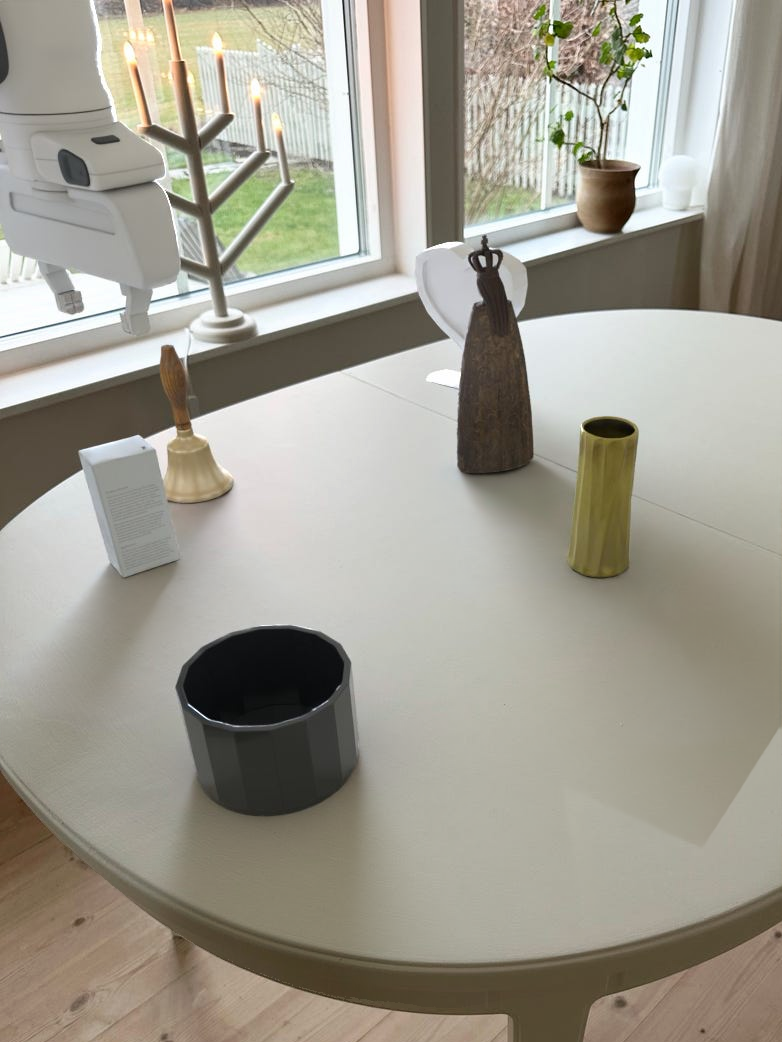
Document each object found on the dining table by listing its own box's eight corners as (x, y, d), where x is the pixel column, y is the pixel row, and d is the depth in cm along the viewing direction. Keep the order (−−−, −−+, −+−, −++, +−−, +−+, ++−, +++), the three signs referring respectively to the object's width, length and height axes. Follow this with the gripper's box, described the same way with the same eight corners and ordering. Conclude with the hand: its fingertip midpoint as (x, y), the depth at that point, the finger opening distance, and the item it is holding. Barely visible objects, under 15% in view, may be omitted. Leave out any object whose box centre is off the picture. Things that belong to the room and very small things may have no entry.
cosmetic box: (165, 542, 97) (140, 433, 90) (181, 560, 95) (157, 448, 88) (106, 561, 95) (76, 449, 87) (121, 579, 92) (91, 465, 85)
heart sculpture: (415, 377, 135) (409, 243, 124) (436, 367, 138) (432, 235, 127) (507, 401, 128) (510, 261, 117) (527, 389, 131) (532, 252, 120)
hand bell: (148, 503, 104) (115, 360, 95) (170, 469, 111) (142, 332, 102) (223, 504, 104) (198, 361, 95) (241, 470, 111) (219, 333, 101)
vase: (614, 585, 91) (628, 446, 83) (556, 568, 94) (564, 432, 85) (638, 556, 95) (653, 421, 87) (582, 541, 98) (591, 409, 89)
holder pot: (181, 818, 67) (158, 733, 62) (213, 707, 76) (195, 626, 72) (353, 813, 67) (344, 728, 62) (363, 704, 77) (355, 622, 72)
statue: (485, 443, 117) (486, 226, 102) (540, 456, 114) (549, 235, 99) (448, 470, 111) (444, 244, 96) (505, 485, 108) (510, 254, 93)
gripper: (-44, 140, 79) (5, 309, 87) (108, 169, 69) (146, 356, 77) (25, 130, 83) (65, 292, 91) (177, 156, 73) (207, 335, 82)
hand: (104, 322), depth 84 cm, fingers open, 8 cm apart
